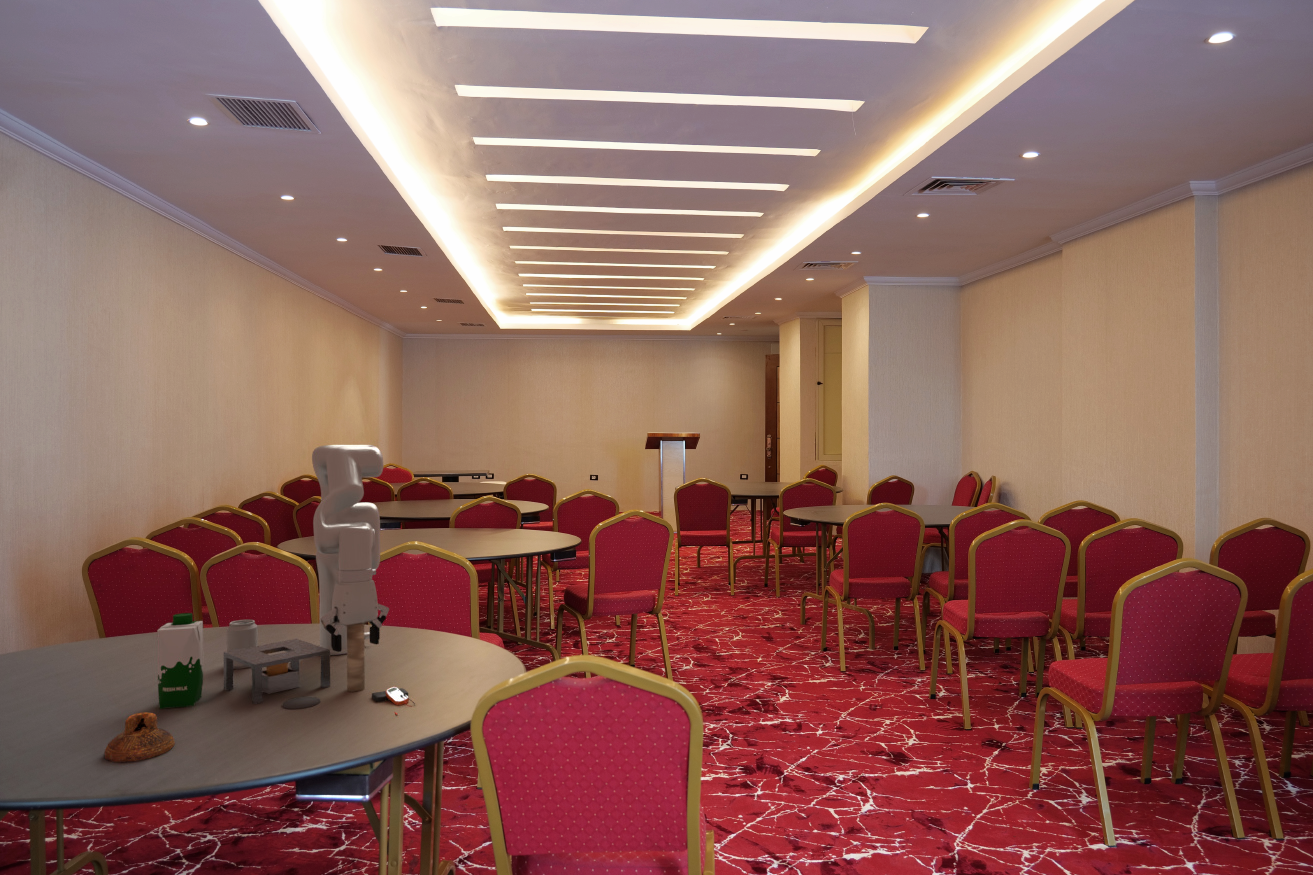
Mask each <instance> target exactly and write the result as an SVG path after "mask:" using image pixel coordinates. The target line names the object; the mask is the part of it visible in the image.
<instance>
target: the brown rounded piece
mask: <svg viewBox="0 0 1313 875" xmlns="http://www.w3.org/2000/svg"><path fill="white" fill-rule="evenodd" d="M124 723H125V724H124V731H122V732H120V733H119V734H117V735H116V736H115V737H114V738H112V739H111V740H110V741H109V742H108V743H107V745H106V747H105V749H104V758H105V760H107V761H108V762H112V761H113V763H125V762H126V761H127V762H129V761H130V762H129V763H131V762H138V761H143V760H148V759H152V758H155V757H159V756H160V755H163V754H165V753H167V752H169V751H170V750H172V749H173V748H174V746H175V744H176V743H175V742H176V741H175V738H174V735H172V733H171V732H169V731H167V730H166V729H163V728H160V727H158V716H157V714H156V713H153V712H138V713H134V714H131V715H130V716H128V717H127V719H125V722H124ZM171 748H172V749H171ZM127 762H126V763H127Z"/></svg>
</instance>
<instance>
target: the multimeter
mask: <svg viewBox="0 0 1313 875" xmlns="http://www.w3.org/2000/svg"><path fill="white" fill-rule="evenodd" d="M371 698H372V700H373V701H374V702H375V703H383V702H388V701H390V702H392V704H394V705H397V706H402V705H406V706H407V707H412V706H413V705H410V704H409V705H408V703H409V701H410V702H412V703H413V704H414V705H416V703H415V702H414V701H413V700H412V699H411V698H410V697H409V692H408V691H407V690H406V689H404V688H403V687H402V688H401V687H400V688H398V687H397V686H392V687H389V688H386V690H385V691H384V690H383V691H377V692H376V691H375V692H373V693H371ZM394 715H395V716H398V713H397V712H396V711H394Z"/></svg>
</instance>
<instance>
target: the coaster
mask: <svg viewBox="0 0 1313 875" xmlns="http://www.w3.org/2000/svg"><path fill="white" fill-rule="evenodd" d="M320 703H321V699H320V697H316V696H299V697H293V698H290V699H287V700H285V701H283V702H282V703H281V707H283V709H286V710H301V709H306V708H311V707H315V706H316V705H318V704H320Z"/></svg>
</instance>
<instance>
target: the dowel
mask: <svg viewBox="0 0 1313 875" xmlns="http://www.w3.org/2000/svg"><path fill="white" fill-rule="evenodd" d="M364 633H365V623H360V624H354V625H347V653H346V664H347V665H346V679H347V680H346V689H347V692H360V691H364V690H365V688H366V686H365V682H366V680H365V678H366V677H365V673H366V670H365V669H366V668H365V666H366V665H365V663H366V662H365V657H366V656H365V640H364Z"/></svg>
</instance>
